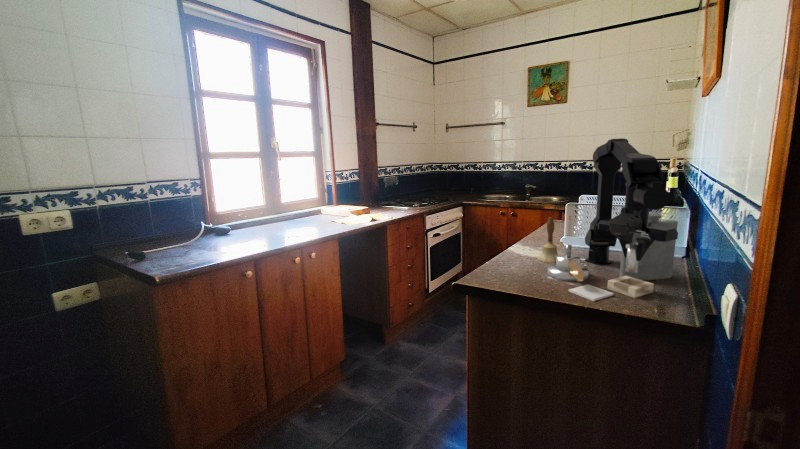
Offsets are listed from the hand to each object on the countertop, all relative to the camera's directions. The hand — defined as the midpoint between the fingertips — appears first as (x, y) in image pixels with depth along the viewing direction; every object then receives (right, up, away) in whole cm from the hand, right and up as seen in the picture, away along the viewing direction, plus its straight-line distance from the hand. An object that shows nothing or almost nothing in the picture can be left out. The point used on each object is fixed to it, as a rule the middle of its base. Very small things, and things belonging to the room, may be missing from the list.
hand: (632, 259), depth 102 cm
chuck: (-12, -5, +11) cm, 17 cm away
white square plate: (-11, -10, +1) cm, 15 cm away
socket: (0, -9, +2) cm, 9 cm away
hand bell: (-10, -4, +33) cm, 35 cm away
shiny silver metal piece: (0, -3, +1) cm, 4 cm away
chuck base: (-11, -7, +16) cm, 21 cm away
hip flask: (+11, -7, +11) cm, 17 cm away
